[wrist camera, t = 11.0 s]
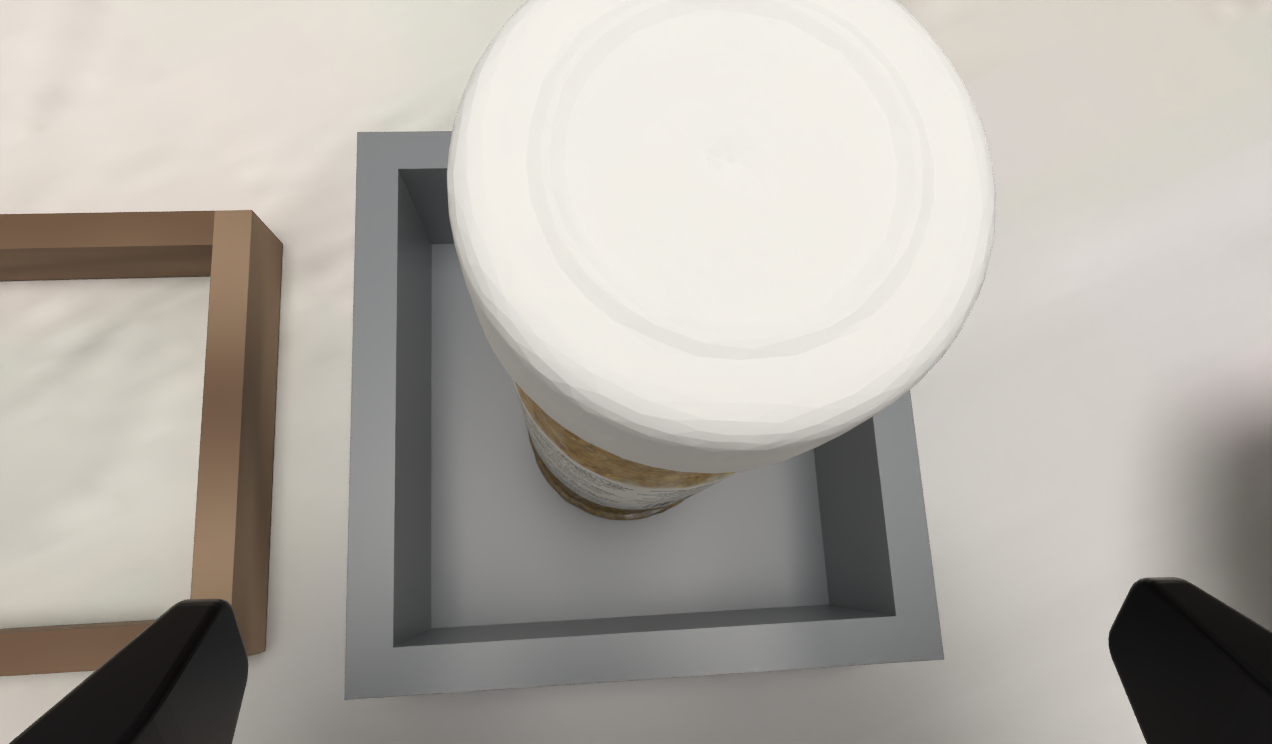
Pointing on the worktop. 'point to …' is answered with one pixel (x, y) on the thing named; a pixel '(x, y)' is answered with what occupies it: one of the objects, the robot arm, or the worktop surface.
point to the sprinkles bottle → (713, 230)
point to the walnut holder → (231, 399)
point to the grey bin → (570, 537)
